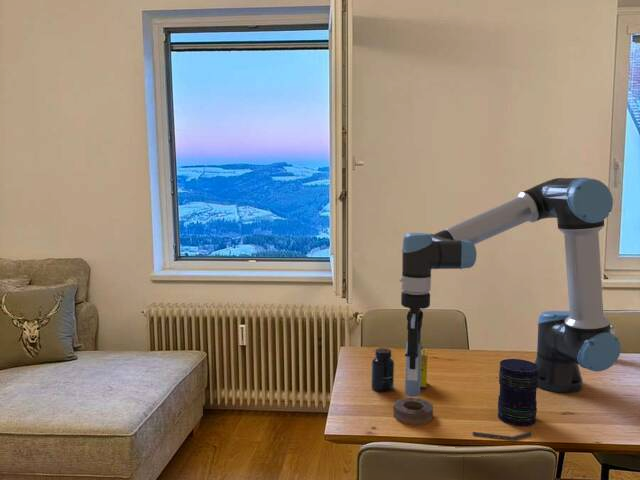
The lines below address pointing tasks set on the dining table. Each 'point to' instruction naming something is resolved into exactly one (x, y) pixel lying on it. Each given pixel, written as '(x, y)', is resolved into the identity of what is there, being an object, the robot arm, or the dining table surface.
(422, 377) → the supplement box
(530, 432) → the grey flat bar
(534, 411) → the storage jar
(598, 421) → the dining table surface
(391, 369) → the supplement bottle
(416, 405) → the bead
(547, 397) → the dining table surface
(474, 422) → the dining table surface
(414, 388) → the round-tipped blue peg
